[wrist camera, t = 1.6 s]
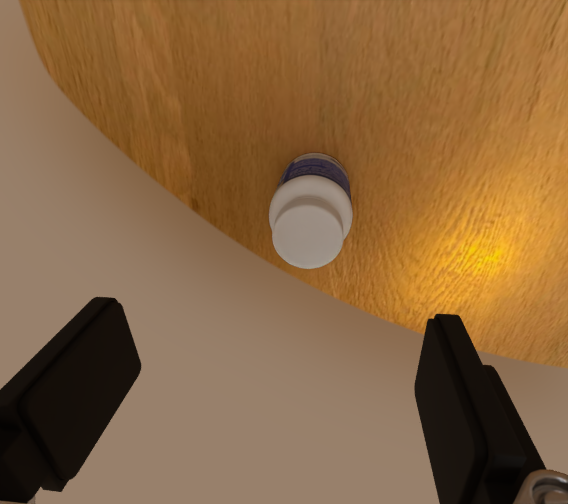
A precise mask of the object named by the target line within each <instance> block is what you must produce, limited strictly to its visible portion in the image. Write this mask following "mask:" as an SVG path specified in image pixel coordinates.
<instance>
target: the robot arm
mask: <svg viewBox="0 0 568 504" xmlns="http://www.w3.org/2000/svg"><path fill="white" fill-rule="evenodd" d="M140 370H141V362H140V359H139V356H138V353H137V350H136V346H135V343H134V340H133V337H132V334H131V332H130V328H129V325H128V322H127V319H126V316H125V313H124V310H123V307H122V305H121V304H120V303H118V301H117V300H116V299H115V298H108V297H95V298H93V299H92V300H91V301H90V302H89V303H88V304H87V305H86V306H85V307H84V308H83V309H82V310H81V311H80V312H79V313H78V314H77V315H76V316H75V317H74V318H73V319H72V320H71V321H69V322H68V323H67V325H66V326H64V327H63V328H62V329H61V330H60V331H59V332H58V333H57V334H56V335H55V336H54V337H53V338H52V339H51V340H50V341H49V342H48V343H47V344H46V345H45V346H44V347H43V348H42V349H41V350H40V351H39V352H38V353H37V354H36V355H35V356H34V357H33V358H32V359H31V360H30V361H29V362H28V363H27V364H26V365H25V366H24V367H23V368H22V369H21V370H20V371H19V372H18V373H17V374H16V375H15V376H14V377H13V378H12V379H11V380H10V381H9V382H8V383H7V384H6V385H5V386H4V387H3V388H2V389H1V390H0V504H35V494H36V493H37V491H38V490H39V488H40V487H42V488H43V490H50V491H58V492H61V491H62V490H63V489H64V487H65V485H66V484H67V482H68V481H69V480H70V479H72V478H73V477H75V476H76V474H77V473H78V472H79V470H80V468H81V467H82V465H83V464H84V462H85V460H86V459H87V457H88V456H89V454H90V452H91V451H92V449H93V448H94V446H95V444H96V443H97V441H98V440H99V438H100V436H101V435H102V433H103V432H104V430H105V428H106V427H107V425H108V424H109V422H110V420H111V419H112V417H113V416H114V414H115V412H116V411H117V409H118V408H119V406H120V404H121V403H122V401H123V399H124V398H125V396H126V395H127V393H128V392H129V390H130V388H131V387H132V385H133V383H134V382H135V380H136V379H137V377H138V375H139V373H140ZM415 397H416V402H417V407H418V411H419V415H420V420H421V423H422V428H423V433H424V437H425V441H426V446H427V450H428V455H429V459H430V463H431V467H432V472H433V476H434V481H435V485H436V489H437V493H438V498H439V502H440V504H568V475H566V474H564V473H560V472H557V471H554V470H547V469H546V467H545V465H544V463H543V461H542V460H541V457H540V455H539V453H538V452H537V449H536V448H535V446H534V444H533V442H532V440H531V438H530V436H529V434H528V432H527V430H526V428H525V426H524V425H523V422H522V420H521V418H520V416H519V414H518V412H517V410H516V408H515V406H514V404H513V402H512V400H511V398H510V396H509V394H508V392H507V390H506V388H505V387H504V385H503V383H502V381H501V379H500V377H499V375H498V373H497V371H496V370H495V368H494V367H492V366H491V365H483V364H482V362H481V360H480V358H479V356H478V354H477V352H476V350H475V347H474V345H473V343H472V341H471V339H470V337H469V335H468V333H467V331H466V328H465V326H464V324H463V322H462V320H461V318H460V316H459V315H451V314H436V315H435V317H434V319H428V321H427V326H426V331H425V336H424V341H423V346H422V350H421V356H420V360H419V365H418V370H417V375H416V380H415Z"/></svg>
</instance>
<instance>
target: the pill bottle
mask: <svg viewBox="0 0 568 504" xmlns="http://www.w3.org/2000/svg"><path fill="white" fill-rule="evenodd" d="M352 218H353V213H352V203H351V195H350V187H349V179H348V176H347V173H346V171H345V169H344V168H343V166H342V165H341V164H340V163H339V162H338V161H337V160H336V159H334V158H332V157H330V156H328V155H325V154H322V153H308V154H304V155H301V156H299V157H297V158H296V159H294V160H293V161H292V162H290V164H289V165H288V166H287V167H286V168H285V170H284V172H283V174H282V177H281V179H280V181H279V184H278V186H277V189H276V191H275V193H274V196H273V198H272V201H271V204H270V209H269V223H270V226H271V229H272V240H273V245H274V247H275V249H276V251H277V253H278V254H279V255H280V257H281V258H282V259H283V260H285V261H286V262H287V263H289V264H291V265H293V266H296V267H299V268H305V269H313V268H318V267H322V266H324V265H326V264H328V263H330V262H331V261H332V260H333V259H334V258H335V257H336V256H337V255H338V253H339V252H340V250H341V247H342V244H343V240H344V239H345V238H346V236H347V235H348V233H349V230H350V228H351V224H352Z"/></svg>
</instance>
